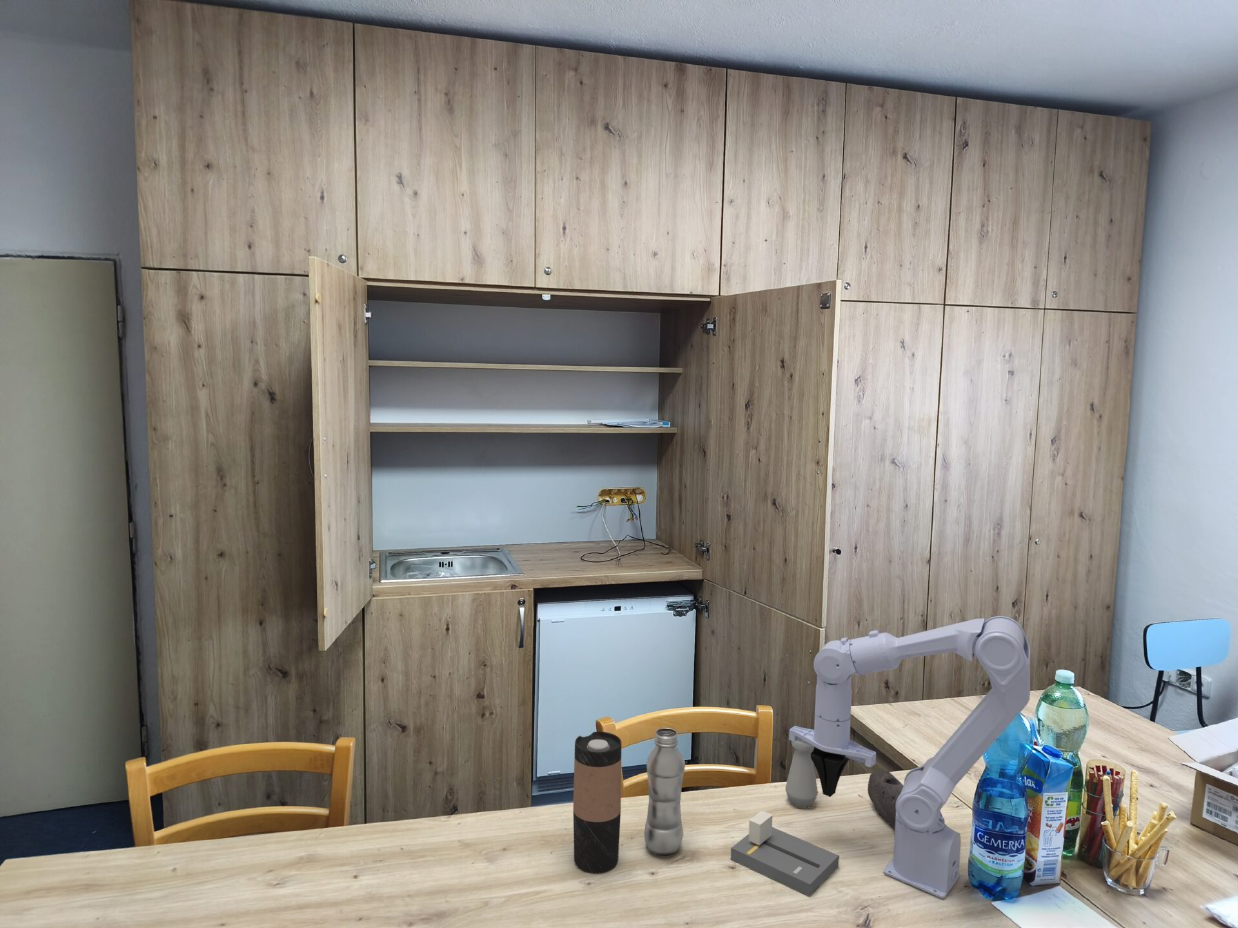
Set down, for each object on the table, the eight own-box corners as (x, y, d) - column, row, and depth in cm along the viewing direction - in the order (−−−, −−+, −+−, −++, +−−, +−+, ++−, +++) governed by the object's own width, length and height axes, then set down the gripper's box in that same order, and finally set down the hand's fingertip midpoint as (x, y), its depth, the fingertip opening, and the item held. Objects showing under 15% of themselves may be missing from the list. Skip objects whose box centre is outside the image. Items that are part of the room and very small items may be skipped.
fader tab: (771, 834, 130) (772, 814, 129) (759, 845, 127) (760, 824, 126) (761, 830, 131) (761, 810, 131) (748, 840, 128) (749, 819, 128)
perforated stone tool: (931, 848, 131) (933, 809, 131) (901, 849, 131) (903, 810, 130) (891, 801, 146) (892, 766, 145) (864, 802, 145) (865, 767, 145)
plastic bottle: (636, 852, 128) (639, 735, 126) (654, 832, 134) (657, 720, 132) (672, 864, 125) (676, 744, 123) (689, 843, 131) (692, 729, 129)
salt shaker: (820, 811, 142) (823, 742, 141) (788, 810, 142) (791, 742, 141) (812, 794, 148) (815, 728, 147) (782, 794, 148) (785, 728, 147)
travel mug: (614, 877, 121) (616, 754, 120) (567, 870, 123) (568, 749, 121) (623, 849, 129) (626, 733, 127) (579, 843, 130) (580, 728, 129)
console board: (838, 866, 125) (839, 854, 125) (809, 896, 118) (809, 883, 118) (762, 833, 134) (762, 822, 134) (730, 859, 127) (731, 846, 127)
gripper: (885, 719, 127) (881, 799, 128) (804, 695, 137) (801, 770, 138) (867, 733, 122) (863, 816, 123) (784, 707, 131) (781, 784, 132)
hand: (829, 793), depth 130 cm, fingers closed
